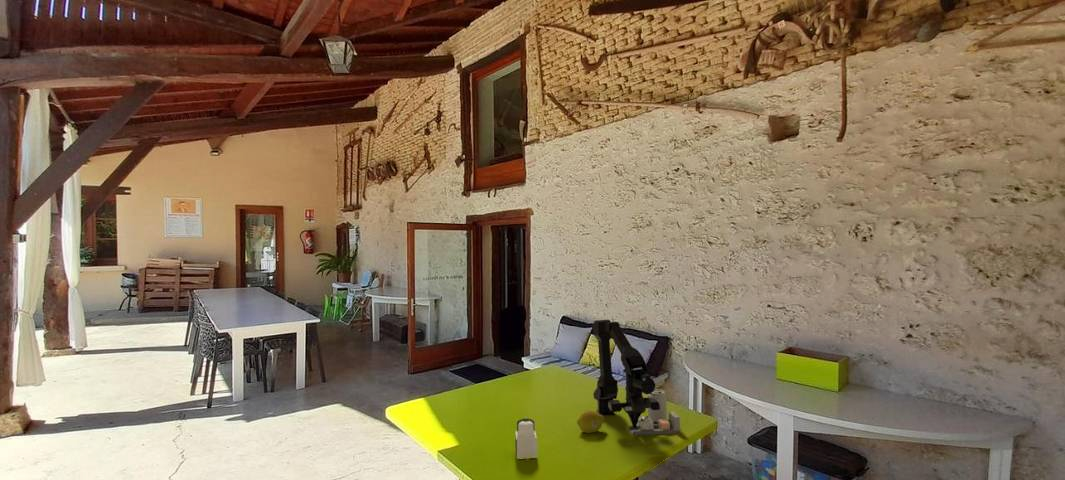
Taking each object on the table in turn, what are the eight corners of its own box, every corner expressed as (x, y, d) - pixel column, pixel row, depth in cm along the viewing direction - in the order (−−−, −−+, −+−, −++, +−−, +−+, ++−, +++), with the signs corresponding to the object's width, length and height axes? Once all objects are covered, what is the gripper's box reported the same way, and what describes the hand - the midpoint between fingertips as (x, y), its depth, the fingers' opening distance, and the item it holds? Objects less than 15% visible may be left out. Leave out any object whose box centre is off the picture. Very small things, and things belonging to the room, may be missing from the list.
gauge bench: (633, 436, 179) (633, 419, 179) (628, 429, 185) (628, 413, 185) (679, 433, 180) (679, 417, 180) (673, 427, 186) (673, 411, 186)
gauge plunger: (640, 433, 180) (640, 419, 180) (637, 429, 184) (636, 415, 184) (653, 432, 180) (653, 419, 180) (649, 428, 185) (649, 415, 185)
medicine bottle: (515, 451, 168) (514, 417, 168) (535, 450, 168) (535, 416, 168) (516, 460, 161) (515, 424, 161) (537, 459, 161) (536, 423, 161)
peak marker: (662, 432, 181) (661, 423, 181) (658, 428, 185) (658, 419, 185) (669, 432, 181) (669, 423, 181) (666, 428, 185) (665, 419, 185)
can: (667, 424, 189) (667, 394, 190) (648, 423, 191) (647, 393, 191) (666, 417, 197) (665, 388, 197) (647, 416, 198) (647, 387, 198)
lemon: (578, 436, 179) (577, 415, 179) (575, 428, 187) (575, 408, 187) (606, 435, 180) (606, 414, 180) (603, 427, 187) (602, 407, 187)
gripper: (614, 394, 173) (615, 437, 173) (664, 392, 175) (665, 434, 175) (607, 385, 184) (608, 425, 184) (654, 383, 186) (655, 423, 186)
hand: (634, 427), depth 182 cm, fingers closed
